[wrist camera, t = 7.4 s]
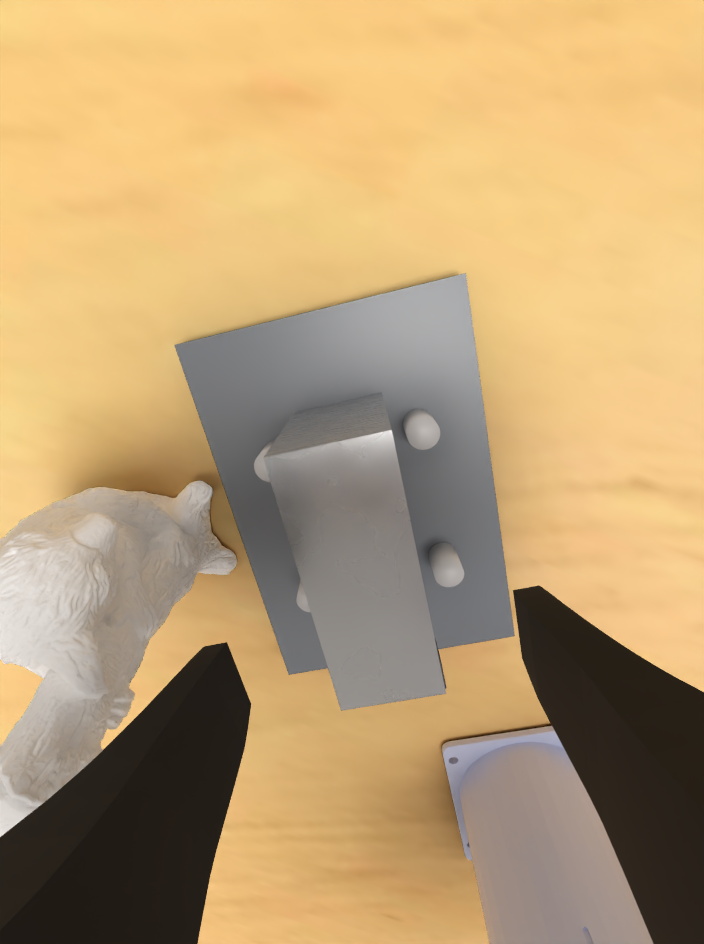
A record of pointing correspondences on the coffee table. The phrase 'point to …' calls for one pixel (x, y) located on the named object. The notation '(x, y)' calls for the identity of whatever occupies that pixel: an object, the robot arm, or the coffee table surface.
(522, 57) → the coffee table surface
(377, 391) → the pin tray
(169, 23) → the coffee table surface
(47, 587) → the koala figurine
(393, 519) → the block
